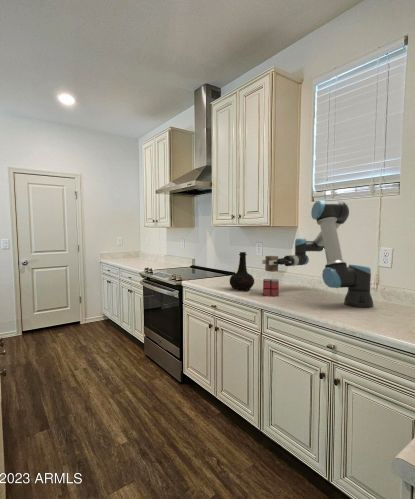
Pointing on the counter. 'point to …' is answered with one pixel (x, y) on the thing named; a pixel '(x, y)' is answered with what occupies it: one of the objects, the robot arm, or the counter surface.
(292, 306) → the counter surface
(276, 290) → the puzzle cube
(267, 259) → the walnut block
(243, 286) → the dark bulbous vase
